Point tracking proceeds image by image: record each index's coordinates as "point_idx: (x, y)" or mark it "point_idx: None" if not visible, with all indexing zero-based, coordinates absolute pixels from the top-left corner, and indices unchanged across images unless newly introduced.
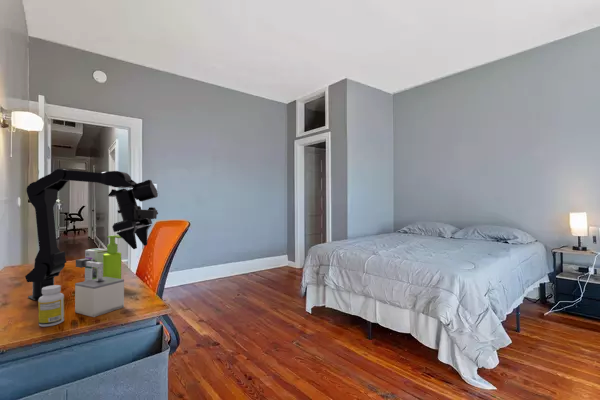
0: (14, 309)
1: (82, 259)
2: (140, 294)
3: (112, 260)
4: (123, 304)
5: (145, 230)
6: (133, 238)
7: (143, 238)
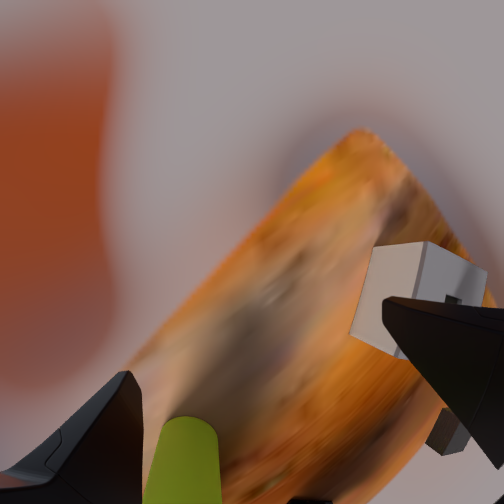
0: (383, 479)
1: (461, 438)
2: (246, 285)
3: (211, 499)
4: (378, 247)
5: (56, 490)
6: (481, 314)
7: (120, 440)
